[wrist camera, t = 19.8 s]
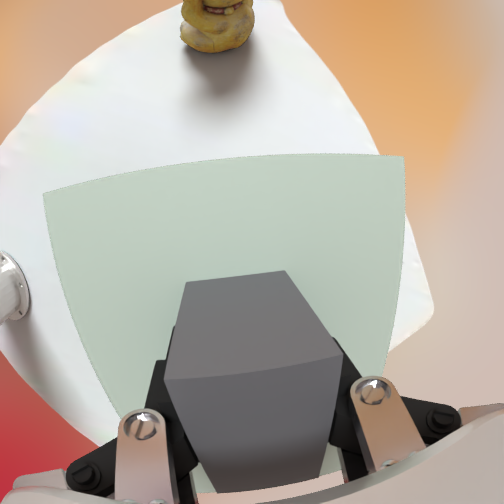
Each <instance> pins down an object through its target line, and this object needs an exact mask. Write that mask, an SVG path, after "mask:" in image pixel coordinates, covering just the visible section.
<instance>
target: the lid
mask: <svg viewBox="0 0 504 504" xmlns="http://www.w3.org/2000/svg"><path fill="white" fill-rule="evenodd" d="M43 200H44V207H45V214H46V220H47V226H48V231H49V236H50V241H51V246H52V251H53V255H54V259H55V263H56V267H57V271H58V275H59V278H60V282H61V285H62V288H63V292H64V295H65V298H66V301H67V304H68V307H69V310H70V313H71V316H72V319H73V321H74V324H75V327H76V329H77V332H78V334H79V337H80V339H81V342H82V344H83V346H84V349H85V351H86V353H87V356H88V358H89V360H90V362H91V364H92V367H93V369H94V371H95V373H96V375H97V377H98V379H99V381H100V383H101V385H102V387H103V389H104V391H105V392H106V394H107V396H108V398H109V400H110V401H111V403H112V405H113V407H114V408H115V410H116V412H117V414H118V415H119V417H120V419H121V420H122V418H123V417H124V416H125V415H126V414H128V413H129V412H131V411H133V410H137V409H144V407H145V402H146V398H147V394H148V390H149V386H150V382H151V378H152V374H153V370H154V366H155V363H156V361H157V360H165V359H166V355H167V351H168V346H169V342H170V338H171V334H172V329H173V326H175V329H174V333H173V337H172V342H171V346H170V351H169V356H168V360H167V365H166V370H165V375H164V382H165V385H166V387H167V390H168V392H169V395H170V398H171V400H172V403H173V405H174V407H175V410H176V412H177V415H178V417H179V419H180V421H181V424H182V426H183V428H184V430H185V433H186V435H187V437H188V439H189V441H190V443H191V445H192V447H193V449H194V451H195V453H196V455H197V457H198V459H199V461H200V463H198V466H196V467H195V468H194V469H193V470H192V474H193V479H194V484H195V489H196V493H211V492H217V493H230V492H241V491H250V490H259V489H265V488H272V487H277V486H283V485H288V484H293V483H298V482H302V481H307V480H310V479H315V478H318V477H319V476H322V475H326V474H329V473H332V472H336V471H339V470H341V466H340V461H339V457H338V453H337V447H335V446H332V445H330V443H328V439H329V434H330V430H331V425H332V420H333V415H334V410H335V405H336V399H337V394H338V388H339V382H340V375H341V368H342V361H343V353H342V351H341V350H340V348H339V347H338V345H337V344H336V342H335V341H334V340H333V338H332V337H334V338H335V339H336V340H337V341H338V343H339V344H340V345H341V347H342V348H343V350H344V351H345V353H346V354H347V355H348V357H349V358H350V360H351V361H352V363H353V364H354V366H355V367H356V368H357V370H358V371H359V373H360V374H361V376H362V377H366V376H380V377H382V373H383V369H384V366H385V362H386V358H387V353H388V349H389V345H390V340H391V335H392V330H393V325H394V319H395V314H396V307H397V301H398V294H399V287H400V279H401V270H402V259H403V247H404V230H405V167H404V157H402V156H387V155H369V154H283V155H264V156H249V157H237V158H226V159H216V160H207V161H198V162H190V163H183V164H176V165H169V166H163V167H156V168H151V169H145V170H139V171H134V172H129V173H124V174H119V175H114V176H109V177H105V178H100V179H96V180H91V181H87V182H83V183H79V184H75V185H71V186H68V187H64V188H60V189H57V190H53V191H50V192H46V193H43Z"/></svg>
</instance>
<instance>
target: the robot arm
mask: <svg viewBox="0 0 504 504" xmlns="http://www.w3.org/2000/svg"><path fill="white" fill-rule="evenodd" d="M28 307H29V292H28V287H27V284H26V280H25V278H24V275H23V273H22V271H21V269H20V268H19V266H18V265H17V263H16V262H15V261H14V260H13V258H12V257H11V256H9V255H8V254H7V253H5V252H3V251H0V325H1V324H2V323H3V322H4V321H6V320H7V319H10V320H19V319H21V318H22V317H23V316H24V315H25V314H26V313H27V311H28ZM174 329H175V326H173V329H172V334H171V338H170V342H169V346H168V351H167V355H166V359H165V360H157V361H156V363H155V366H154V370H153V374H152V378H151V382H150V386H149V390H148V394H147V398H146V402H145V407H144V409H137V410H133V411H131V412H129V413H128V414H126V415H125V416H124V417H123V418H122V420H121V421H120V423H119V427H118V437H116V438H115V439H113V440H111V441H110V442H108V443H106V444H105V445H103V446H101V447H99V448H98V449H96V450H94V451H92V452H91V453H89V454H87V455H85V456H83V457H81V458H79V459H77V460H75V461H74V462H73V463H71V464H70V466H69V467H68V468H67V471H64V470H63V469H57V470H52V471H47V472H42V473H36V474H30V475H23V476H20V477H18V478H17V479H16V480H15V481H14V484H13V490H12V491H10V492H9V493H8V494H7V495H6V496H5V498H4V499H3V501H2V502H1V504H199V503H198V499H197V494H196V489H195V484H194V479H193V474H192V470H193V469H194V468H195V467H196V466H198V463H200V461H199V459H198V457H197V455H196V453H195V451H194V449H193V447H192V445H191V443H190V441H189V439H188V437H187V435H186V433H185V430H184V428H183V426H182V424H181V421H180V419H179V417H178V415H177V412H176V410H175V407H174V405H173V403H172V400H171V398H170V395H169V392H168V390H167V387H166V385H165V382H164V375H165V370H166V365H167V360H168V356H169V351H170V346H171V342H172V337H173V333H174ZM332 338H333V340H334V341H335V342H336V344H337V345H338V347H339V348H340V350H341V351H342V353H343V361H342V368H341V375H340V382H339V388H338V394H337V399H336V405H335V410H334V415H333V420H332V425H331V430H330V434H329V439H328V443H330V445H332V446H335V447H337V453H338V457H339V461H340V466H341V470H342V474H343V479H344V483H345V484H342V485H339V486H335V487H332V488H329V489H325V490H322V491H318V492H315V493H311V494H306V495H302V496H298V497H293V498H288V499H283V500H278V501H271V502H264V503H257V504H504V404H503V403H497V404H490V405H483V406H474V407H463V408H460V409H459V410H458V411H456V409H454V408H453V407H451V406H448V405H445V404H438V403H433V402H428V401H422V400H416V399H412V398H407V397H403V396H400V395H399V394H398V392H397V390H396V388H395V386H394V385H393V384H392V382H390V381H389V380H387V379H386V378H383V377H380V376H366V377H362V376H361V374H360V373H359V371H358V370H357V368H356V367H355V366H354V364H353V363H352V361H351V360H350V358H349V357H348V355H347V354H346V353H345V351H344V350H343V348H342V347H341V345H340V344H339V343H338V341H337V340H336V339H335V338H334V337H332Z"/></svg>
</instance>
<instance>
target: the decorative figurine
mask: <svg viewBox="0 0 504 504" xmlns="http://www.w3.org/2000/svg"><path fill="white" fill-rule="evenodd" d="M183 1H184V3H183V5H182V9H181V13H182V16H183V18H184V21H183V22H182V23H181V27H180V31H181V35H180V38H181V39H182V40H183V41H184V42H185V43H186V44H187V45H189V46H190V47H192V48H194V49H196V50H198V51H201V52H206V53H217V52H221V51H225V50H228V49H231V48H237V47H240V46H241V45H242V44H243V43H244V42H245V41H246V40H247V39H248V37H249V35H250V34H251V32H252V29H253V27H254V11H253V9H252V5H253V0H183Z"/></svg>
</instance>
